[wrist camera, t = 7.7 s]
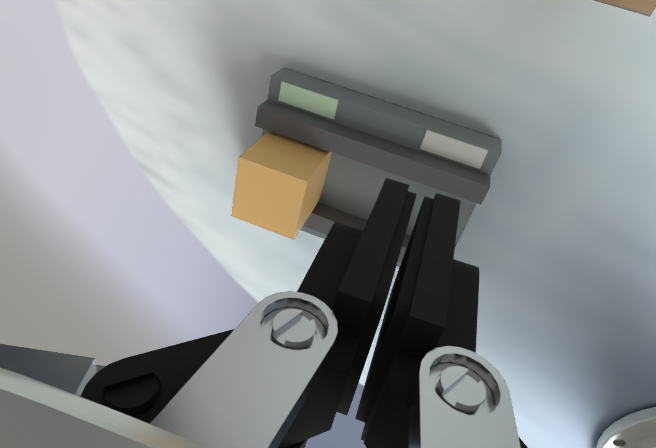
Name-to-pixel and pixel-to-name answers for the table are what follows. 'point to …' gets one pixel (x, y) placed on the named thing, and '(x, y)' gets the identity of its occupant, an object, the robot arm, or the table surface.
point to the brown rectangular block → (633, 5)
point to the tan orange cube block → (279, 183)
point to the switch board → (376, 151)
